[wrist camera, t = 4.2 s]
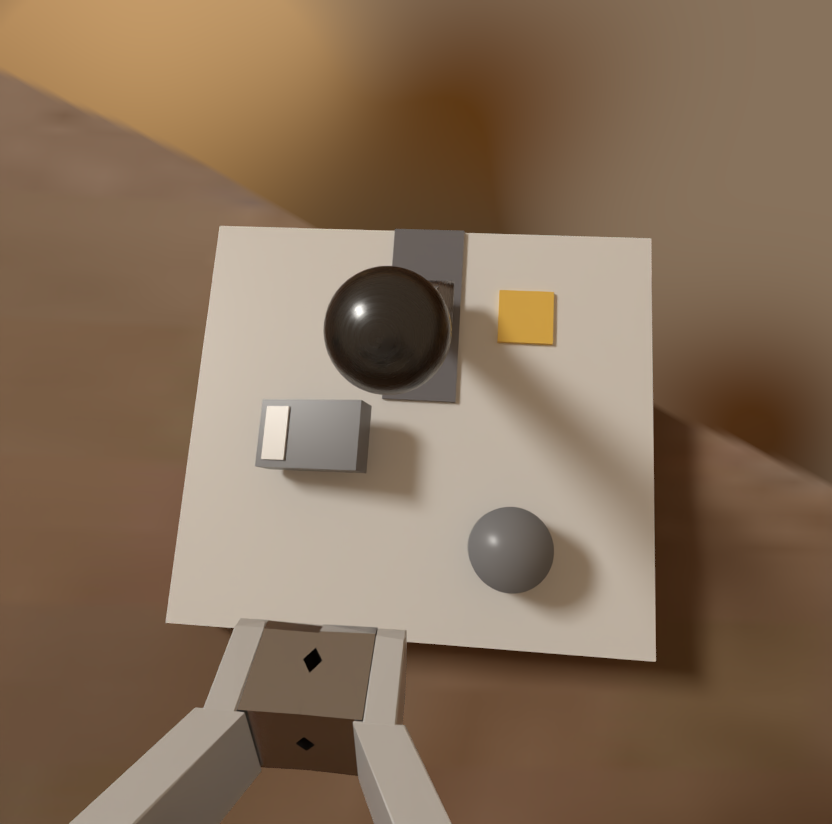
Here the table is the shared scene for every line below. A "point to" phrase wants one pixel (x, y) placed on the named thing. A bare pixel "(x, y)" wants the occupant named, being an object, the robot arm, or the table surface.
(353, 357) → the toggle lever
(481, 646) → the switch panel
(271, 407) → the rocker switch
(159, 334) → the table surface
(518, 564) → the push button
